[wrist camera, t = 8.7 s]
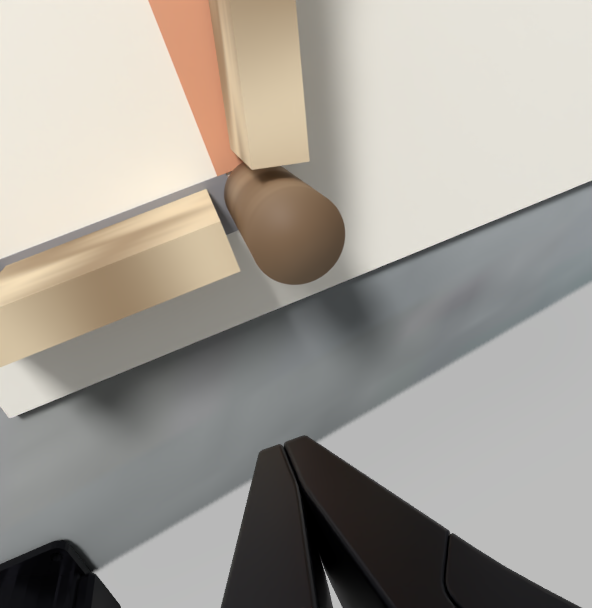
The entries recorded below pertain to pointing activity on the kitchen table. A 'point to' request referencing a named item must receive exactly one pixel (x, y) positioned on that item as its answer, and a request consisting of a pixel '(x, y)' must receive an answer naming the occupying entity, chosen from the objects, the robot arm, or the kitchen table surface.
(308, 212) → the fence gate
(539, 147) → the card
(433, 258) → the kitchen table surface
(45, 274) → the beige flat block
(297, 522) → the robot arm
